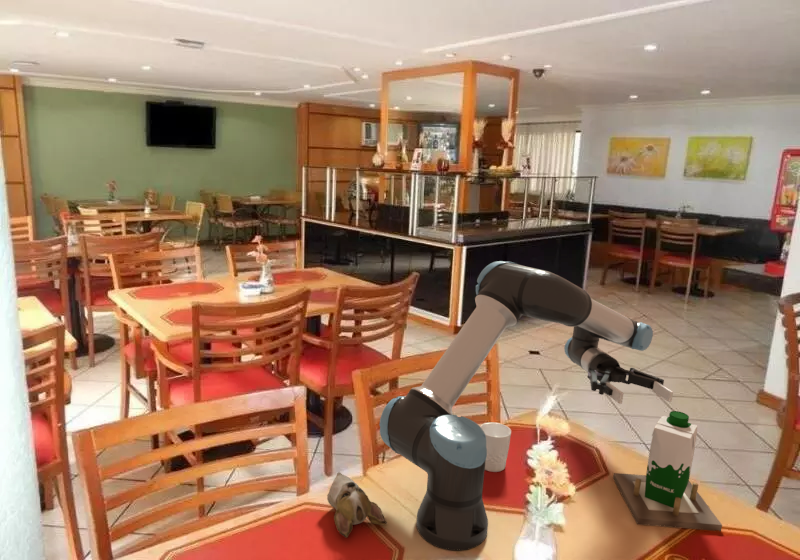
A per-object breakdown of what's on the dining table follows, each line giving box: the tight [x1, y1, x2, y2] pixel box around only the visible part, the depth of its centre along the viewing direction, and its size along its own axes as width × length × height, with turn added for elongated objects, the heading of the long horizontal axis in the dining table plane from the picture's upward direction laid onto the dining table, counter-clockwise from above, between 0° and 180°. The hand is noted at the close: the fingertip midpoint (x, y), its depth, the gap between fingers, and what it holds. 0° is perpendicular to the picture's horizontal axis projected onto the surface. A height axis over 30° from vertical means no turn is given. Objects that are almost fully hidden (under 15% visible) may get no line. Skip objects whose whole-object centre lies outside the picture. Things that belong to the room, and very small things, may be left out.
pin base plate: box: [612, 472, 723, 532], centre depth 134 cm, size 18×18×6 cm
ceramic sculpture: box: [326, 471, 388, 539], centre depth 123 cm, size 11×9×15 cm
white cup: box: [479, 421, 512, 473], centre depth 146 cm, size 8×8×10 cm
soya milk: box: [645, 410, 698, 508], centre depth 132 cm, size 9×9×20 cm
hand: (646, 397), depth 140 cm, fingers open, 13 cm apart
